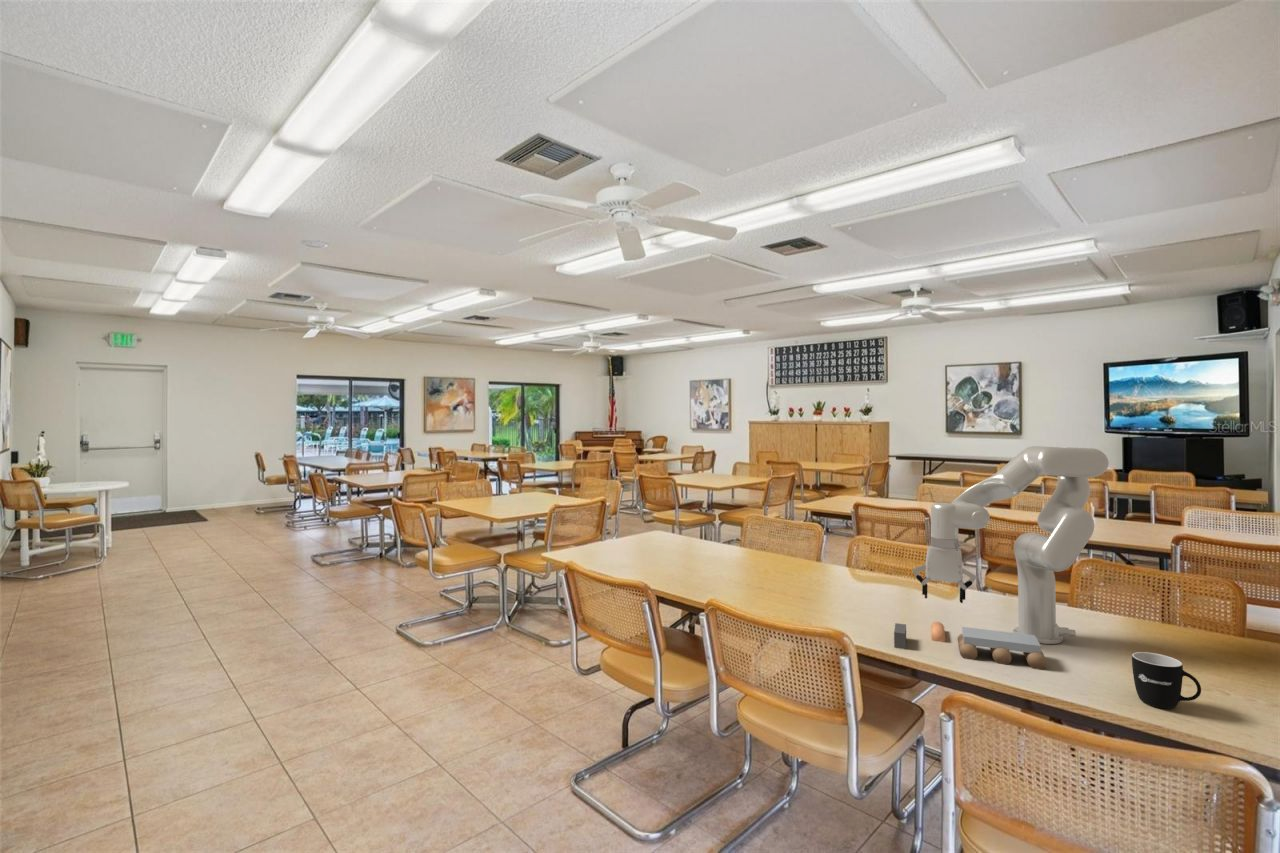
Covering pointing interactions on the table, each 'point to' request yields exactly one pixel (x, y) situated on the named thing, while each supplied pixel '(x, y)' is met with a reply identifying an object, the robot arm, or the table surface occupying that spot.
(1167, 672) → the mug
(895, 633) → the block
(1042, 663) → the roller
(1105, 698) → the table surface
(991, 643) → the slab
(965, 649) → the roller
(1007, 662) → the roller mid
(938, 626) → the roller
